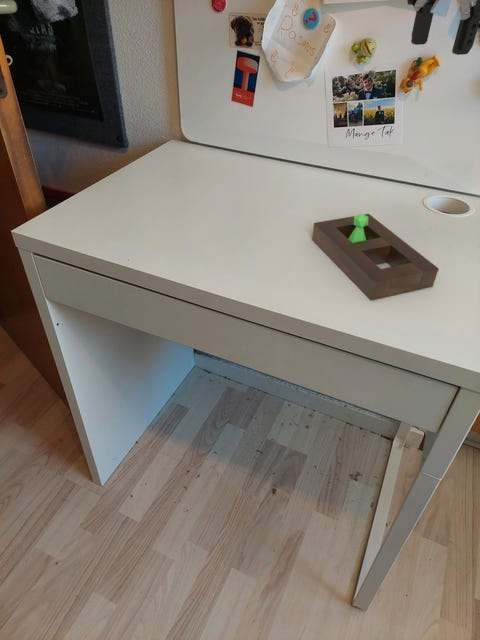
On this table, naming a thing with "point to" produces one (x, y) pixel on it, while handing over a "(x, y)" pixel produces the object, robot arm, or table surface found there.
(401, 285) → the socket pad
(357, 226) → the game piece
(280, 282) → the table surface
